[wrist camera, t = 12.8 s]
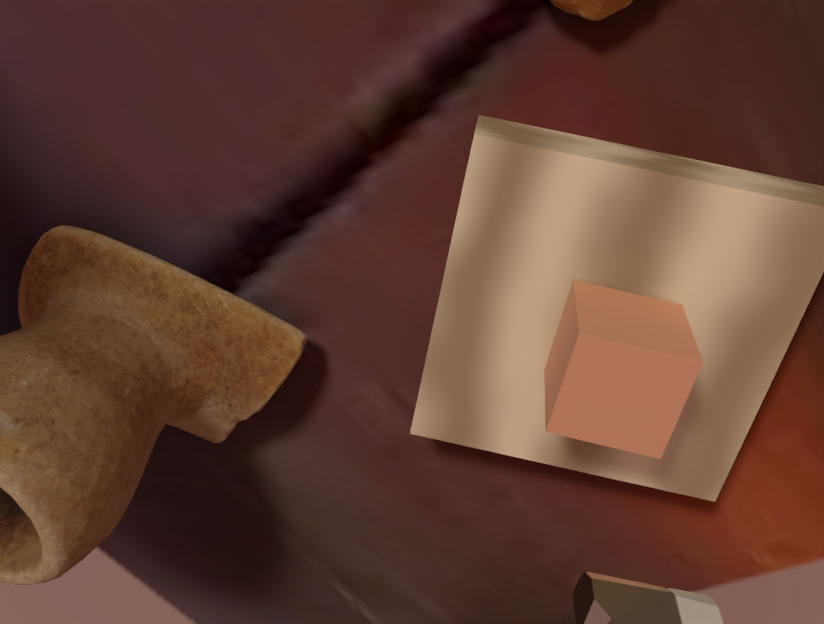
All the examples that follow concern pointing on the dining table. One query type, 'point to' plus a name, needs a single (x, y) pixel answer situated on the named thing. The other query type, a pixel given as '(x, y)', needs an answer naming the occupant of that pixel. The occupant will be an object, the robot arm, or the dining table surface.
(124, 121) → the dining table surface
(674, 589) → the robot arm
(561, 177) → the birch base
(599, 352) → the terracotta block
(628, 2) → the pastry
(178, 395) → the cork boot vase
